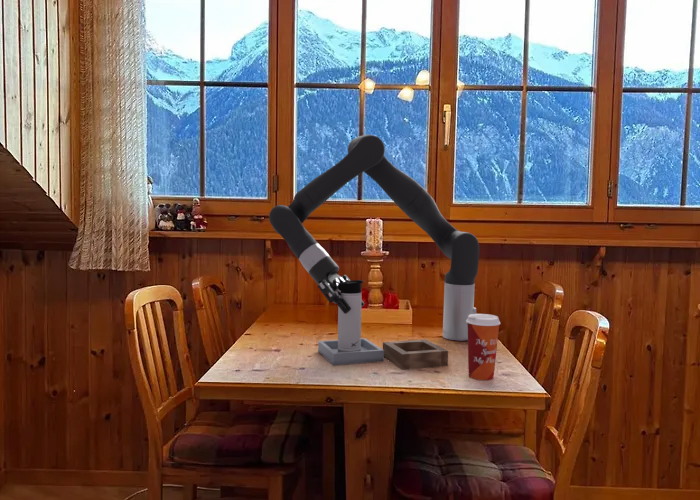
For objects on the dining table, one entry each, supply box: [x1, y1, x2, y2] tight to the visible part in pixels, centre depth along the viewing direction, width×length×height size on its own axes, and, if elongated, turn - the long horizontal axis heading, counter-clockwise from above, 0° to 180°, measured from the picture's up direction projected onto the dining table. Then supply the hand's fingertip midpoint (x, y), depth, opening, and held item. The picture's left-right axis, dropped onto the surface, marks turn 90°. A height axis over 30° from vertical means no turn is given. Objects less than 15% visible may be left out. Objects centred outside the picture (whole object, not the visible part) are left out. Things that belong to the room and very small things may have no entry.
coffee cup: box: [466, 313, 501, 381], centre depth 146 cm, size 8×8×15 cm
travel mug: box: [337, 279, 364, 352], centre depth 162 cm, size 6×7×20 cm
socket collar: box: [382, 339, 449, 371], centre depth 159 cm, size 13×13×4 cm
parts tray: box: [317, 337, 385, 366], centre depth 162 cm, size 14×14×3 cm
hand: (355, 309), depth 161 cm, fingers open, 8 cm apart
